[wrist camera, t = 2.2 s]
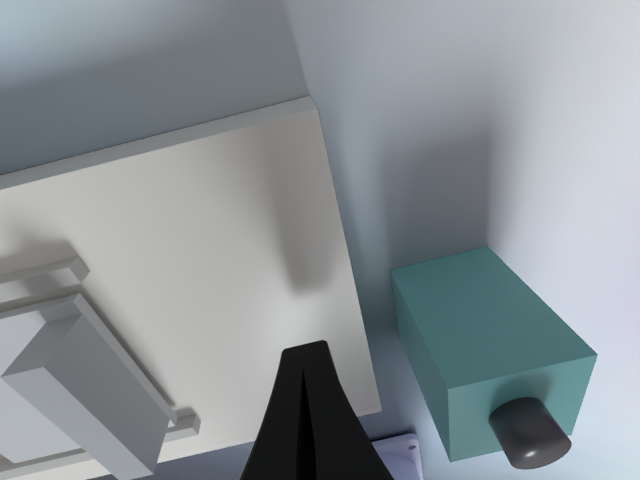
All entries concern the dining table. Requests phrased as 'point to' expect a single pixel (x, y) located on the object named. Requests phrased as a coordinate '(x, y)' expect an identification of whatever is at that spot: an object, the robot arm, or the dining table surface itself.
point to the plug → (490, 358)
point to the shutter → (76, 390)
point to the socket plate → (194, 268)
